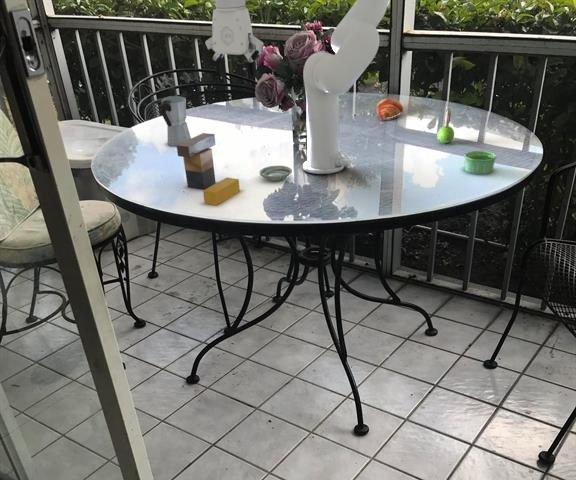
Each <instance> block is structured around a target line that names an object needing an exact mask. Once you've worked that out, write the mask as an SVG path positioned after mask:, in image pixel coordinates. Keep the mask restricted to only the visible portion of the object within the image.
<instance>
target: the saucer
mask: <svg viewBox="0 0 576 480" xmlns="http://www.w3.org/2000/svg"><path fill="white" fill-rule="evenodd" d="M258 172H259V176H261V177H262V178H264V179H266V180H268V181H269V182H282V181H283V180H285V179H286V178H288V177H289V176H290V175H291V174H292V173H293V169H292V168H291V167H289V166H287V165H269V166H266V167H263V168H261V169H260V170H259V171H258Z"/></svg>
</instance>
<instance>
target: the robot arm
mask: <svg viewBox="0 0 576 480" xmlns="http://www.w3.org/2000/svg"><path fill="white" fill-rule="evenodd" d="M211 3H212V4H214V6H215V8H214V9H213V11H212V20H211V21H212V22H211V27H212V28H211V29H212V36H210V37H209V38H208V39H207V40H205V42H204V43H205V44H204V45H205V46H206V49H207V50H208V54H209V55H210V56H211V57H212V60H213V61H215V71H216V77H217V78H222V77H225V76H226V75H227V74H226V62H225V58H223V57H224V56H225V55H237V56H238V55H239V56H240V55H243V56H244V57H245V58H246V59H247V62H246V70H247V79H248V80H253V79H255V78H256V77H257V61H258V60H259V57H260V56H261V54H262V51H263V49H264V42H263V41H262V40H260V39H259V38H257V37H256V36H254V34H253V27H252V22H251V21H252V20H251V17H250V11H249V8H248V7H246V0H211ZM388 5H389V0H355V2H354V3H353V5H352V6H351V7H350V9H349V10H348V12H347V13H346V14H345V15H344V16H343V18H342V19H341V21H340V22H339V23H338V24H337V26H336V27H335V29H334V30H333V32H332V35H331V38H330V46H331V49H332V50H333V52H334V53H335V54H332V53H329V52H326V51H318V52H315V53H312V54H311V55H310V56H309V57H308V58H307V59H306V61H305V62H304V66H303V71H302V73H303V75H302V78H303V85H304V90H305V91H304V92H305V99H306V136H307V137H306V139H307V160H306V161H305V162H304V163H302V168H303V170H304V171H305V172H307V173H310V174H314V175H316V174H317V175H329V174H334V173H338V172H340V171H342V170H343V169H344V168H345V167H350V166H351V163H352V161H351V158H350V157H344V156H343V151H340V97H339V96H341V95H344V94H346V93H347V92H348V91H349V90H350V89H351V88H352V87H353V86H354V85H355V83H356V82H357V80H358V79H359V78H360V77H361V76H362V74H363V73H364V72H365V70H366V69H367V68H368V67H369V65H370V64H371V63H372V61H373V60H374V59H375V57H376V56H377V53H378V50H379V46H380V34H379V31H378V29H377V27H378V25H379V24H380V22H381V21H382V19H383V18H384V17H385V15H386V12H387V9H388ZM254 46H255V50H254Z"/></svg>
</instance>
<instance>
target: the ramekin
mask: <svg viewBox="0 0 576 480" xmlns="http://www.w3.org/2000/svg"><path fill="white" fill-rule="evenodd" d="M496 159H497V154H496V153H494V152H492V151H487V150H473V151H472V150H471V151H468V152H466V153H464V171H465V172H466V173H468V174H471V175H486V174H487V175H488V174H490V173H491V172H493V170H494V166H495V161H496Z"/></svg>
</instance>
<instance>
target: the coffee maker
mask: <svg viewBox="0 0 576 480" xmlns="http://www.w3.org/2000/svg"><path fill="white" fill-rule="evenodd" d="M168 92H169V96H167V97H164V98H161V100H160V102H161V106H160V114H161V116H162V118H163V120H164V122H165V124H166V125H167V145H168V146H170V147H176V148H177V146H176V145H178V144H180V143H183V142H185V141H187V140H189V139H191V138H192V136H191V134H190V130H189V127H188V123H187V121H186V119H187V99H186V97H185V96H179V95H176V87H169V88H168Z"/></svg>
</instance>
